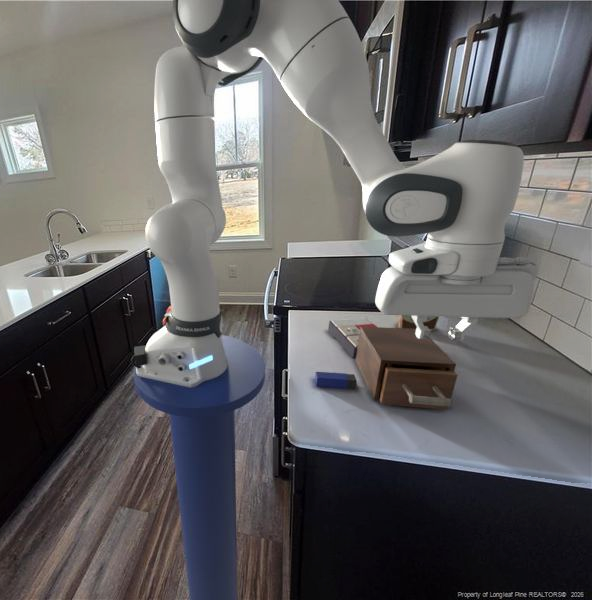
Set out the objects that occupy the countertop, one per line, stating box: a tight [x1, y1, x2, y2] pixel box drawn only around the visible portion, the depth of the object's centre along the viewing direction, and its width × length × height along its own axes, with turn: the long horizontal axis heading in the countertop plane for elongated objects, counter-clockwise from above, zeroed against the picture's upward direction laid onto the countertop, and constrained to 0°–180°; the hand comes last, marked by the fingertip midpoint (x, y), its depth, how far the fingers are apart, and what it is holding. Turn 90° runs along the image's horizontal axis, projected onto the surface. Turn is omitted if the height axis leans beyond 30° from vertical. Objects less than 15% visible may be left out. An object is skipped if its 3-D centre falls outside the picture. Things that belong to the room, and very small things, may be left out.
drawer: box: [379, 364, 459, 411], centre depth 63 cm, size 18×11×8 cm, turn 168°
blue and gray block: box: [314, 371, 358, 390], centre depth 70 cm, size 8×2×2 cm, turn 78°
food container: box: [397, 315, 440, 331], centre depth 91 cm, size 12×6×10 cm, turn 89°
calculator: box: [327, 317, 378, 359], centre depth 85 cm, size 11×4×15 cm
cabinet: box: [355, 326, 457, 402], centre depth 68 cm, size 15×13×10 cm
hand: (438, 338), depth 53 cm, fingers open, 3 cm apart
